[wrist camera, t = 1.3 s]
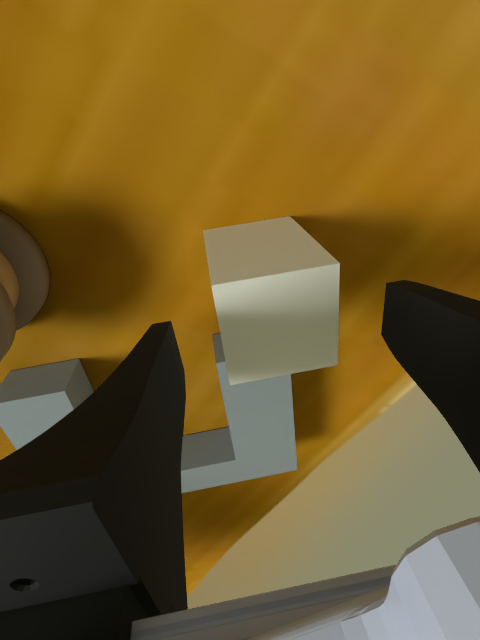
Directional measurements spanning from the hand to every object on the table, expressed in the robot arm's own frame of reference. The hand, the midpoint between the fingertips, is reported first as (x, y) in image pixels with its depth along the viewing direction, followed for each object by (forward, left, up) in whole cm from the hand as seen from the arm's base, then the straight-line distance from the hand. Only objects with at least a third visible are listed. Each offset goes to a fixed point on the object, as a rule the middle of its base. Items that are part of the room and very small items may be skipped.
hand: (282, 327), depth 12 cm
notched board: (-6, -8, -6) cm, 12 cm away
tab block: (0, 0, -6) cm, 6 cm away
